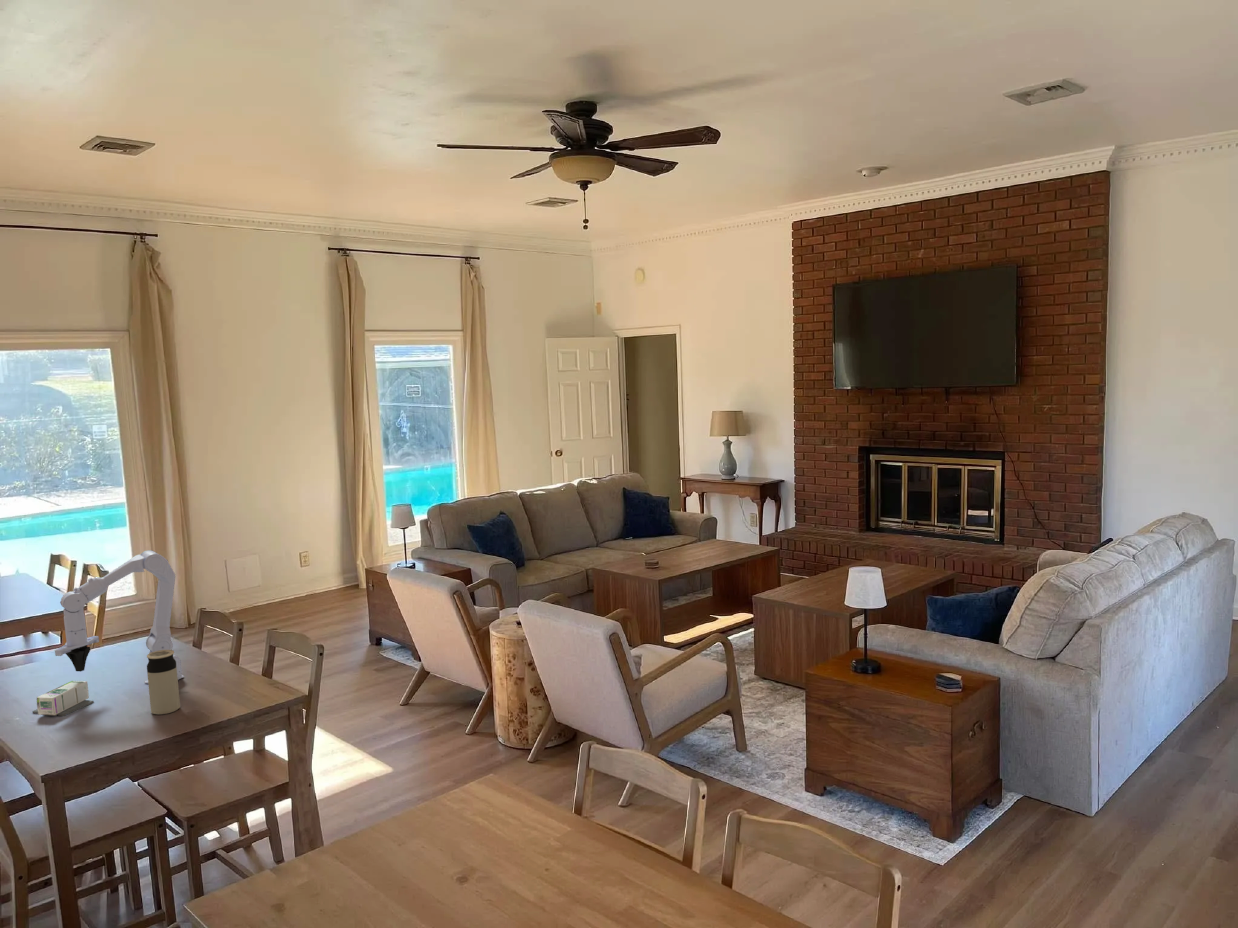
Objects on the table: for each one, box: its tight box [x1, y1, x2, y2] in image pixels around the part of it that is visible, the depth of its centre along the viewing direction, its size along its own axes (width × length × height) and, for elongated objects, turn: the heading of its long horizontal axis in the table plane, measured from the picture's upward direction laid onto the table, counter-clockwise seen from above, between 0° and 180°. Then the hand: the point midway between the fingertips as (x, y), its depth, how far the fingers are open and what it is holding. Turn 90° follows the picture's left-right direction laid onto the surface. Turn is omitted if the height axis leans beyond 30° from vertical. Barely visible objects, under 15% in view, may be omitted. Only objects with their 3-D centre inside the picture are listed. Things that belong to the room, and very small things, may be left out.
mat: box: [32, 699, 95, 717], centre depth 276 cm, size 12×11×1 cm
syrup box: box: [36, 680, 90, 716], centre depth 275 cm, size 6×6×14 cm
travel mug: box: [146, 649, 181, 716], centre depth 270 cm, size 8×8×18 cm
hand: (80, 670), depth 283 cm, fingers closed
